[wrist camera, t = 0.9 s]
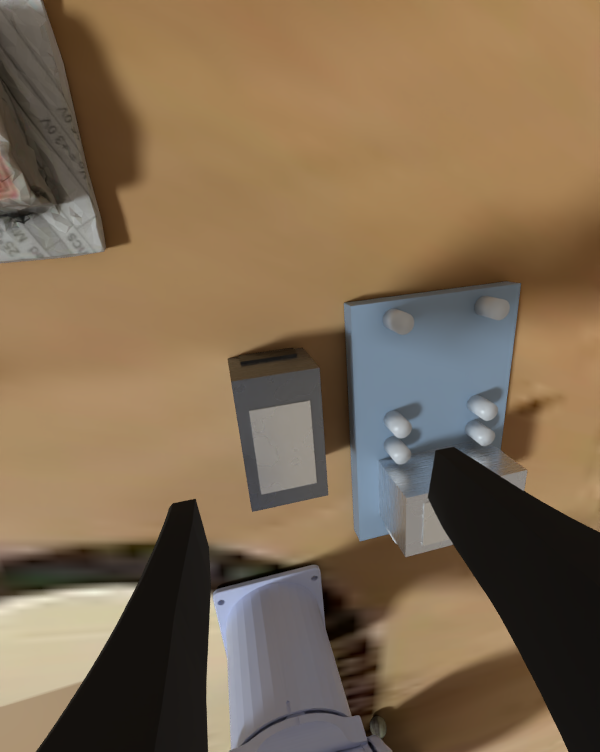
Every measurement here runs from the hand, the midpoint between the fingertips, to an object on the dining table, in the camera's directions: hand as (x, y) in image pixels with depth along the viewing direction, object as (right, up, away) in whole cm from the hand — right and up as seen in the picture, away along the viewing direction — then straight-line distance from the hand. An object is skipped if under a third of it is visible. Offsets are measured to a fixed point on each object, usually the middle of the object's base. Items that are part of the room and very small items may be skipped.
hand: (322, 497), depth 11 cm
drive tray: (+8, +1, +15) cm, 17 cm away
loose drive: (-2, +1, +13) cm, 13 cm away
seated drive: (+9, -3, +16) cm, 18 cm away
